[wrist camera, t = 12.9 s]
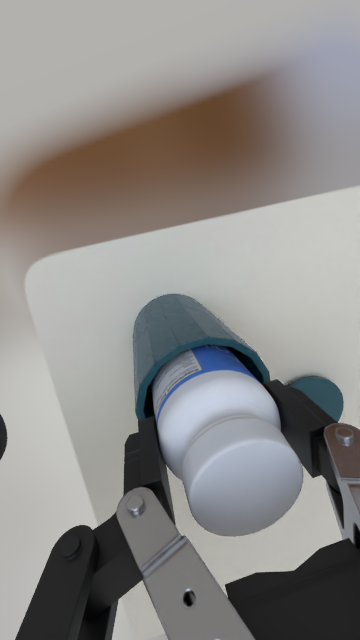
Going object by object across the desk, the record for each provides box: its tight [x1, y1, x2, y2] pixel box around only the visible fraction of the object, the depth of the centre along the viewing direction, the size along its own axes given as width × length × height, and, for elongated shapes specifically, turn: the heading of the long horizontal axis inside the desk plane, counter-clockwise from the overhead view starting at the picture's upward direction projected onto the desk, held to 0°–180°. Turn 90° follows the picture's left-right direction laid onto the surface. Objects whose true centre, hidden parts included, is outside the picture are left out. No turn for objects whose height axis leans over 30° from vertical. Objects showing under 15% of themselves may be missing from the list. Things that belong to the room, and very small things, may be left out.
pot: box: [133, 294, 270, 422], centre depth 19 cm, size 7×7×12 cm
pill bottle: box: [151, 344, 303, 536], centre depth 13 cm, size 6×5×10 cm
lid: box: [288, 376, 343, 422], centre depth 27 cm, size 8×8×6 cm
